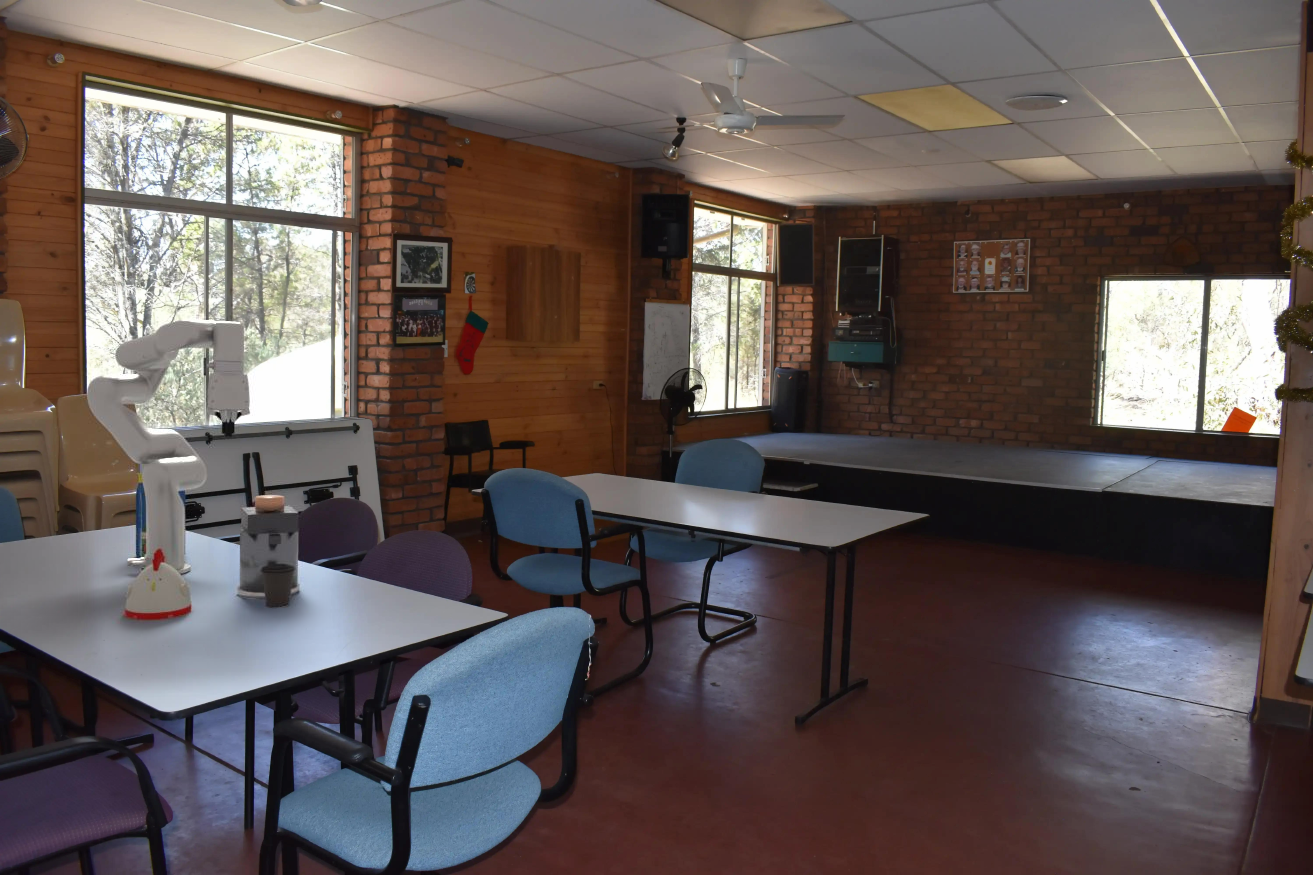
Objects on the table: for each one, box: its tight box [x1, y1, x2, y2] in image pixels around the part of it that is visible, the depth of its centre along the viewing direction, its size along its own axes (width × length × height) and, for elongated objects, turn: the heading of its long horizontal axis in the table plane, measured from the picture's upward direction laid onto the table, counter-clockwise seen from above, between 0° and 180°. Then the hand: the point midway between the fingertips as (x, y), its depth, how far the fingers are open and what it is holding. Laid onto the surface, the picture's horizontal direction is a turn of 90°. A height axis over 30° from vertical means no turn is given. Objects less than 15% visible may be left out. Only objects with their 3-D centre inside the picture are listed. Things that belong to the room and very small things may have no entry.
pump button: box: [254, 494, 285, 511], centre depth 247 cm, size 7×7×8 cm
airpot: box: [236, 505, 301, 600], centre depth 247 cm, size 15×18×22 cm
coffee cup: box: [260, 564, 295, 609], centre depth 237 cm, size 8×8×10 cm
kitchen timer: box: [124, 549, 192, 621], centre depth 226 cm, size 14×14×15 cm
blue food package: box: [135, 473, 186, 559], centre depth 286 cm, size 6×12×25 cm, turn 133°
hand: (228, 436), depth 257 cm, fingers closed
